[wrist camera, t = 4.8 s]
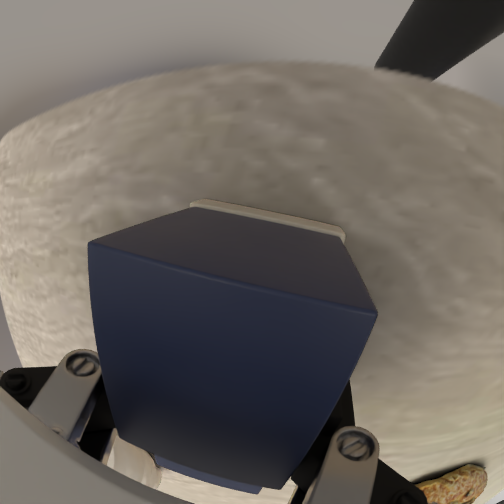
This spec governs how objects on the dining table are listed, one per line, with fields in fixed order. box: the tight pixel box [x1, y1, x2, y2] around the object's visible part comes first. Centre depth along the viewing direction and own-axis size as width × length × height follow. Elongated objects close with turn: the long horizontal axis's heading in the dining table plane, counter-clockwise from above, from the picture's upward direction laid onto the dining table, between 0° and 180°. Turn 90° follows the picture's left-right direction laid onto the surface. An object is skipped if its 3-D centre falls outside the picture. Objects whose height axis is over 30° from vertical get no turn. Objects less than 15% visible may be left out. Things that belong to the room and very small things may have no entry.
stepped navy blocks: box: [88, 199, 378, 494], centre depth 7 cm, size 10×4×6 cm, turn 170°
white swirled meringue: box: [107, 433, 162, 489], centre depth 13 cm, size 6×6×5 cm
